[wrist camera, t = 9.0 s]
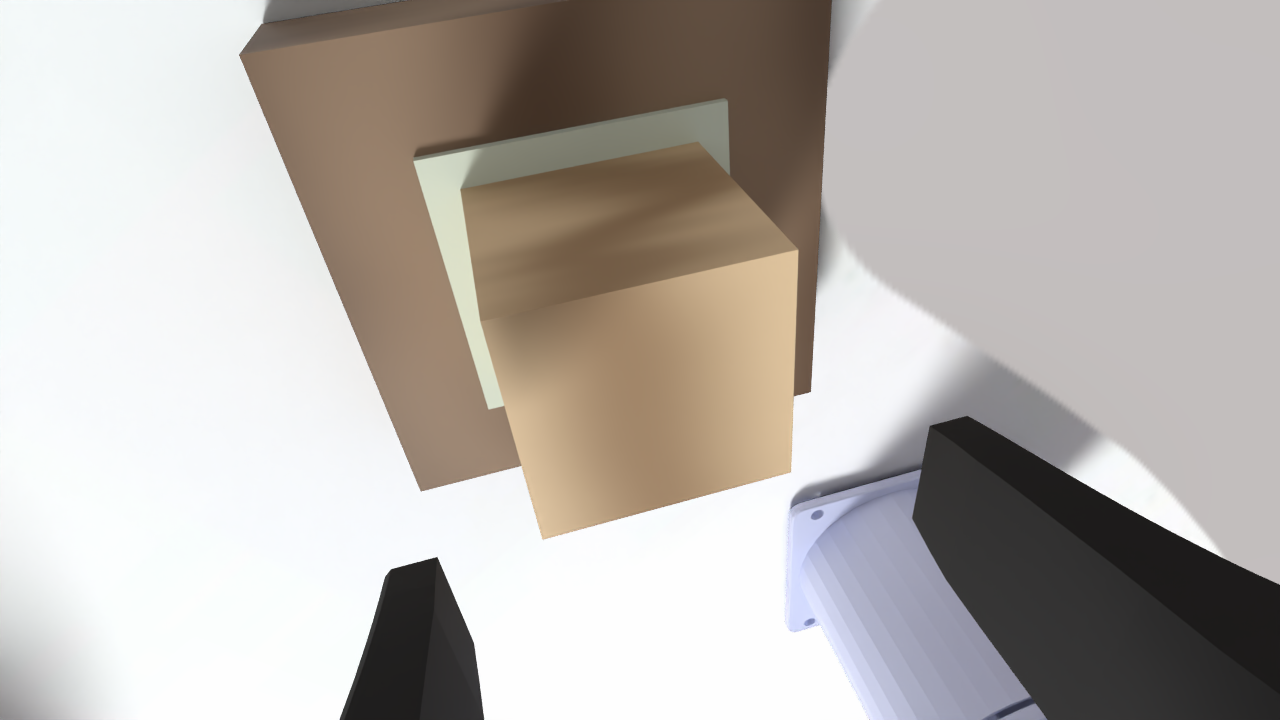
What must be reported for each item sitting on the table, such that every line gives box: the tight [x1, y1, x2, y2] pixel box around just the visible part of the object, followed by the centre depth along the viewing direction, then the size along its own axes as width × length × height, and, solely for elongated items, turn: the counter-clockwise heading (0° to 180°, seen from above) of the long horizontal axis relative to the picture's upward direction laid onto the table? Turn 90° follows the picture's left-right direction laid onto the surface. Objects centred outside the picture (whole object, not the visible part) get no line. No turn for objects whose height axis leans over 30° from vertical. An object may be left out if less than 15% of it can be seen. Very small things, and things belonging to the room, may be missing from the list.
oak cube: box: [460, 142, 798, 539], centre depth 15 cm, size 5×5×5 cm
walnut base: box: [239, 0, 832, 491], centre depth 18 cm, size 11×11×3 cm
